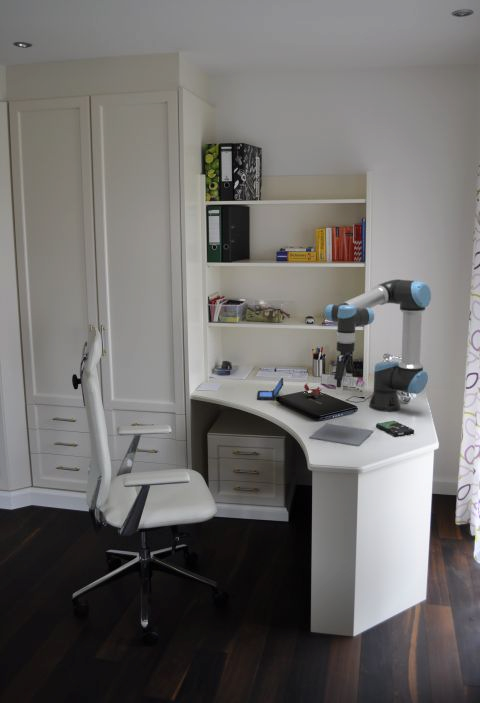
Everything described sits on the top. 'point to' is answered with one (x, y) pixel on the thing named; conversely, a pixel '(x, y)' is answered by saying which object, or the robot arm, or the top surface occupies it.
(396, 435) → the disk drive
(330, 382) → the candy bar box
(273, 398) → the handheld game console
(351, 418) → the top surface
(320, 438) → the slate mat
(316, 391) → the figurine
